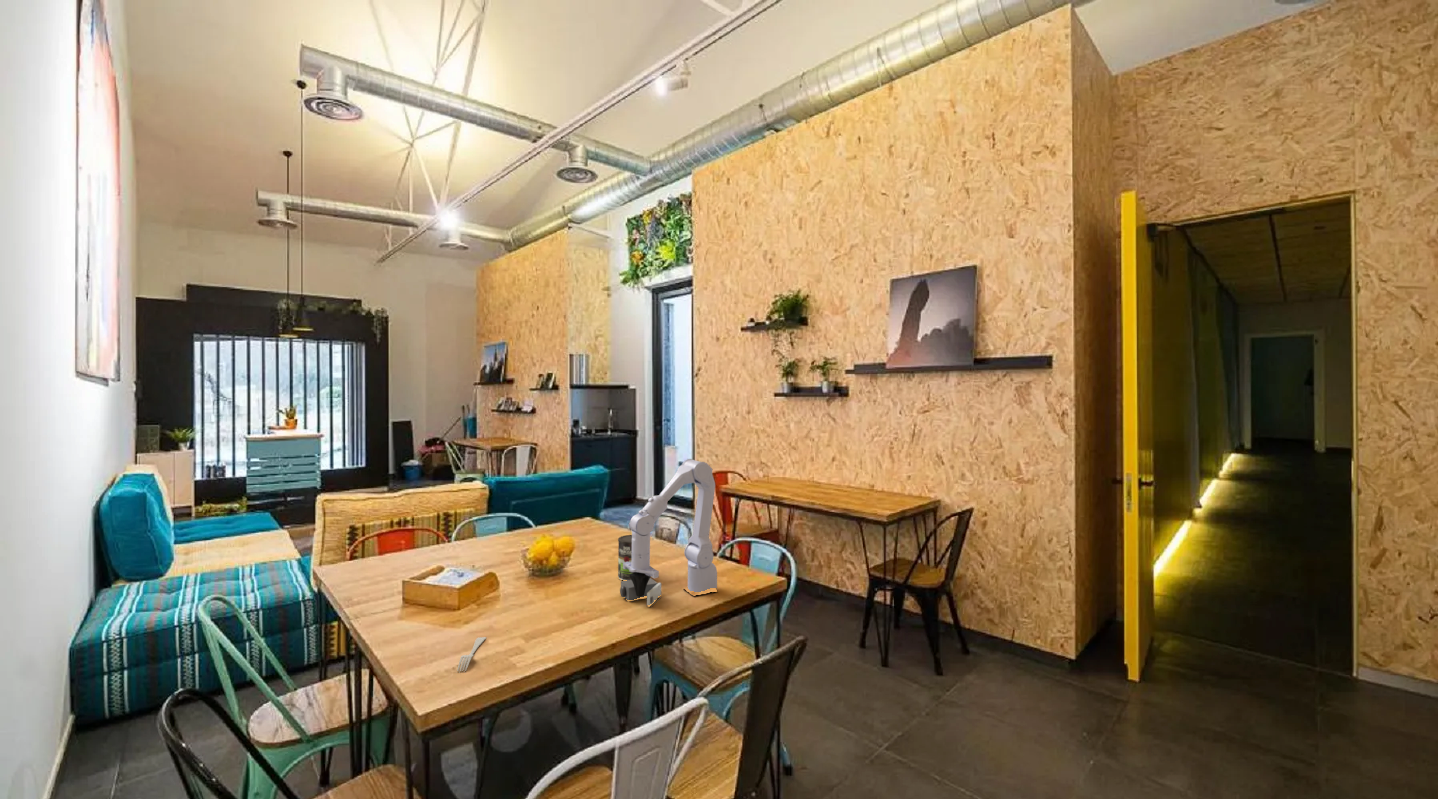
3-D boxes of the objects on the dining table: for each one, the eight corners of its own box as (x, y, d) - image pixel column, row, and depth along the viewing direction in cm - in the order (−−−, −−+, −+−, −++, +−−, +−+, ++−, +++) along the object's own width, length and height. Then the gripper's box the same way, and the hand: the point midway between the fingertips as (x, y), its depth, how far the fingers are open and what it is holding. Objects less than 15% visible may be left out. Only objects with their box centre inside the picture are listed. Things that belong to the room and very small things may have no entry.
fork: (487, 646, 161) (488, 636, 161) (466, 675, 141) (466, 663, 141) (477, 647, 161) (477, 636, 161) (454, 676, 140) (454, 663, 140)
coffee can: (639, 583, 205) (639, 543, 205) (612, 580, 208) (613, 540, 208) (651, 574, 215) (651, 535, 215) (625, 571, 218) (625, 533, 218)
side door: (658, 595, 193) (659, 582, 193) (663, 596, 193) (663, 582, 193) (646, 607, 183) (647, 593, 183) (651, 607, 183) (651, 593, 183)
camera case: (649, 590, 199) (649, 576, 199) (657, 596, 193) (657, 583, 193) (617, 595, 193) (617, 581, 193) (625, 602, 187) (625, 588, 187)
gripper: (615, 551, 188) (615, 593, 189) (647, 560, 179) (646, 604, 179) (632, 546, 194) (632, 587, 194) (663, 555, 184) (663, 598, 185)
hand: (640, 595), depth 187 cm, fingers closed
